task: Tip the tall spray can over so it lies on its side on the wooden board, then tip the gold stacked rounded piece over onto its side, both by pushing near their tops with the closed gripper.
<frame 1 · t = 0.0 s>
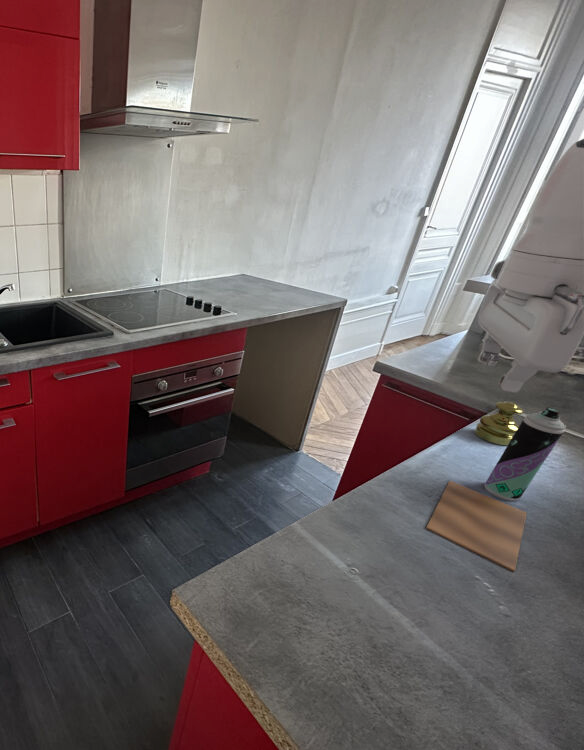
hand: (495, 375, 58), 33 cm above the countertop, tool pointing down, fingers open, 8 cm apart
wooden board: (477, 521, 78), on the countertop
gold stacked rounded piece: (492, 438, 104), on the countertop
spray can: (500, 492, 85), on the countertop
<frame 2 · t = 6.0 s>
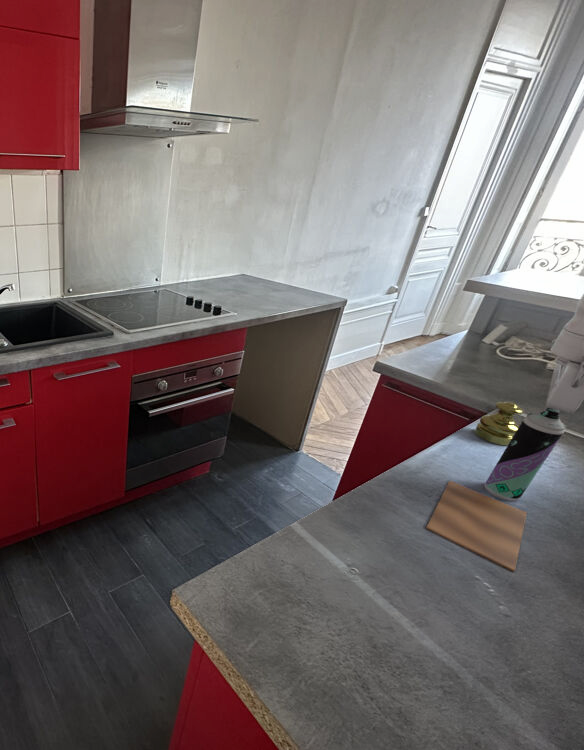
hand: (548, 415, 80), 17 cm above the countertop, tool pointing down, fingers closed
spray can: (500, 492, 85), on the countertop, touching gripper
everything else where it was.
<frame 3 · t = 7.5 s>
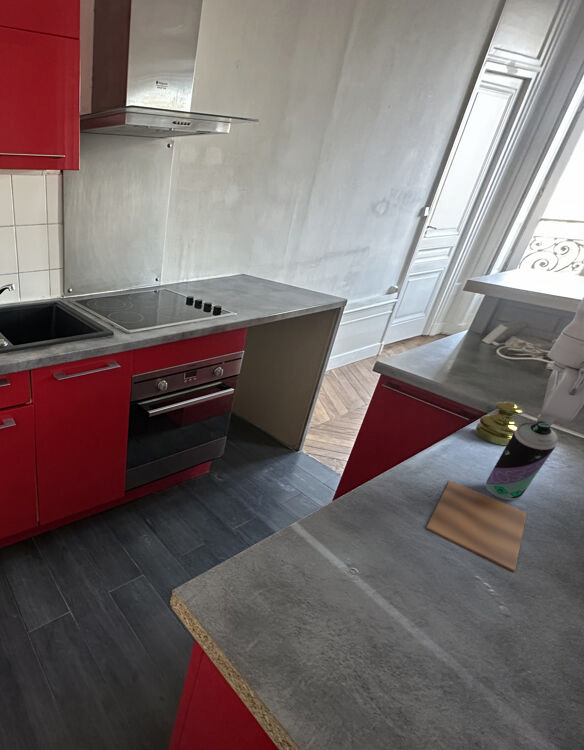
hand: (542, 423, 76), 18 cm above the countertop, tool pointing down, fingers closed
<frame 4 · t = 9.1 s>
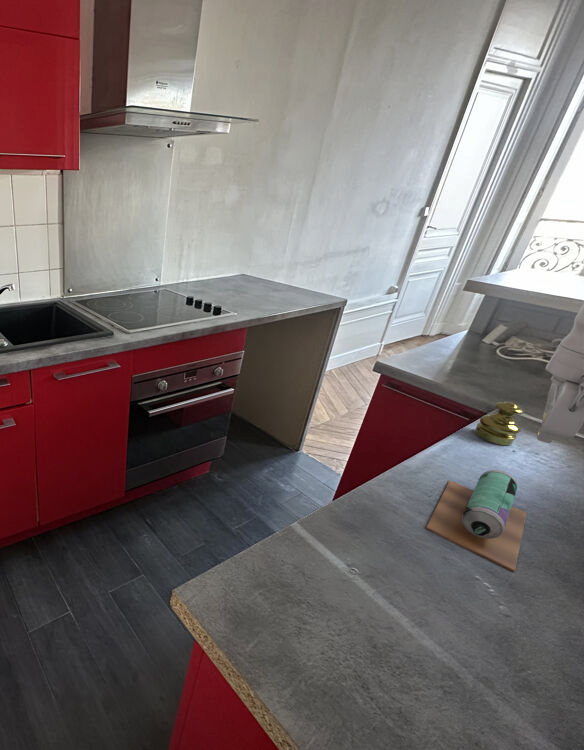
hand: (543, 438, 73), 17 cm above the countertop, tool pointing down, fingers closed
spray can: (498, 482, 83), point 3 cm above the countertop, touching wooden board
everything else where it was.
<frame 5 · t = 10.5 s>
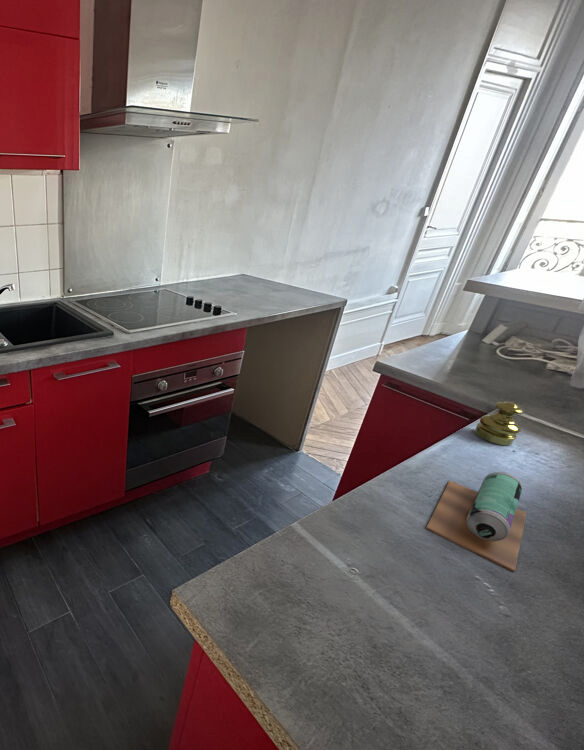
hand: (576, 384, 69), 27 cm above the countertop, tool pointing down, fingers closed
nothing on the countertop moved.
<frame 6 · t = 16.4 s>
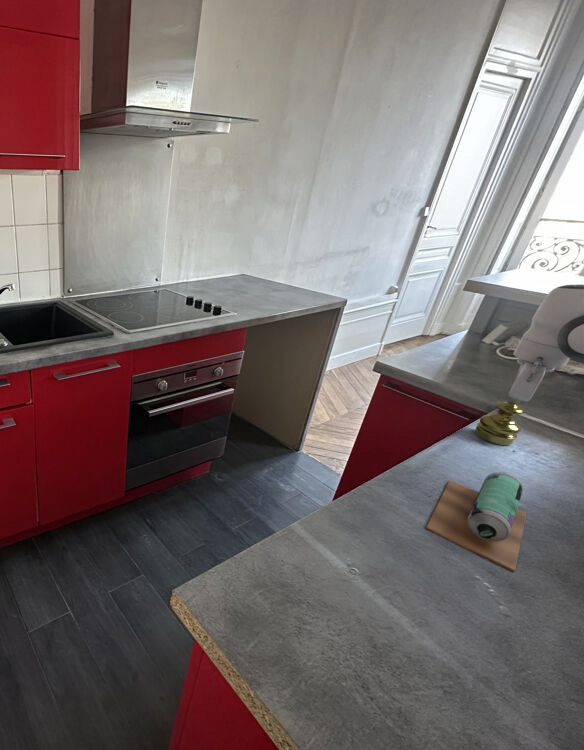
hand: (512, 404, 102), 9 cm above the countertop, tool pointing down, fingers closed
gold stacked rounded piece: (492, 437, 104), on the countertop, touching gripper
everything else where it was.
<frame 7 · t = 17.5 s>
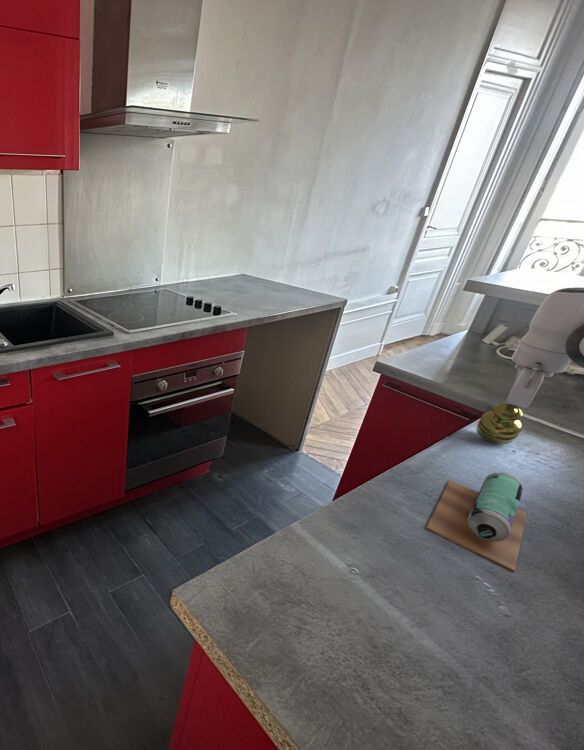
hand: (510, 410, 99), 9 cm above the countertop, tool pointing down, fingers closed
gold stacked rounded piece: (495, 432, 103), point 2 cm above the countertop, touching gripper
everything else where it was.
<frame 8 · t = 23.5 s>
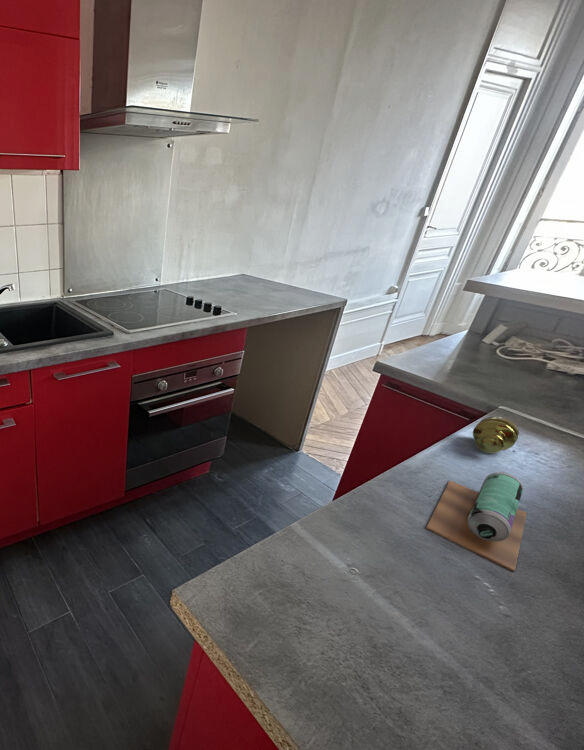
gold stacked rounded piece: (498, 430, 100), point 4 cm above the countertop
everything else where it was.
at the end: spray can tilted 90°; spray can touching wooden board; gold stacked rounded piece tilted 90° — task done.
